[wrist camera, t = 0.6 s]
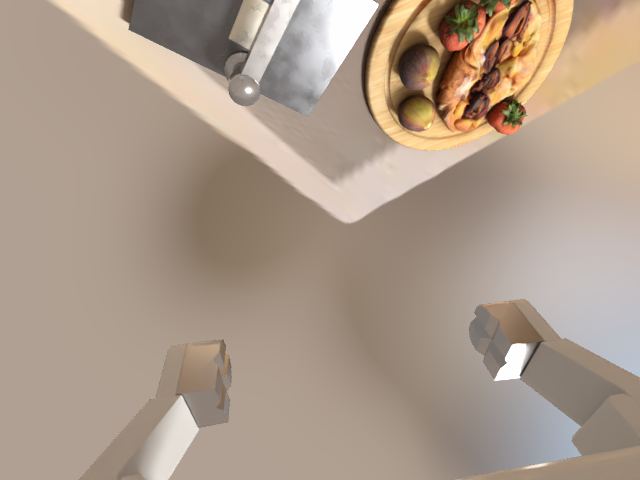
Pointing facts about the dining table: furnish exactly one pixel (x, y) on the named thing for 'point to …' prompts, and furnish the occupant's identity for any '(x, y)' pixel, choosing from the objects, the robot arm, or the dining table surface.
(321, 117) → the dining table surface
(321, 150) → the dining table surface
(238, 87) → the swing bar
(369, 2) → the board
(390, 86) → the wooden plate with food
